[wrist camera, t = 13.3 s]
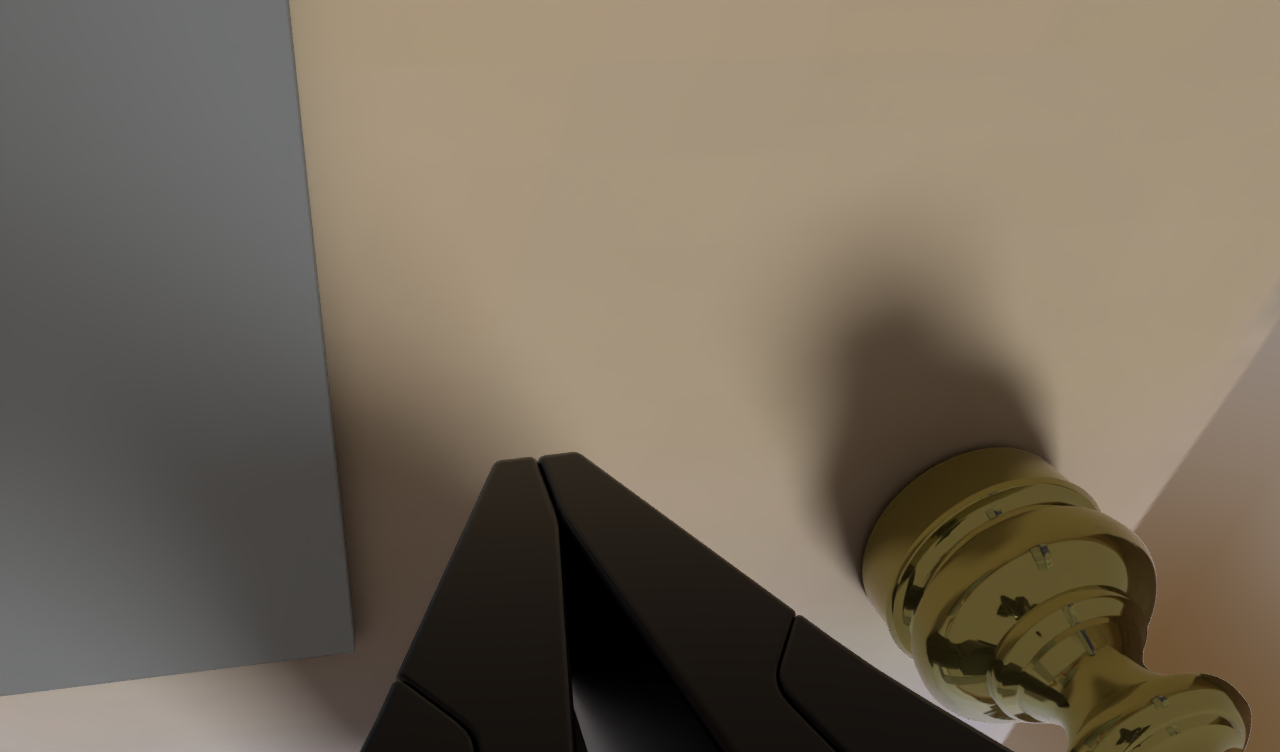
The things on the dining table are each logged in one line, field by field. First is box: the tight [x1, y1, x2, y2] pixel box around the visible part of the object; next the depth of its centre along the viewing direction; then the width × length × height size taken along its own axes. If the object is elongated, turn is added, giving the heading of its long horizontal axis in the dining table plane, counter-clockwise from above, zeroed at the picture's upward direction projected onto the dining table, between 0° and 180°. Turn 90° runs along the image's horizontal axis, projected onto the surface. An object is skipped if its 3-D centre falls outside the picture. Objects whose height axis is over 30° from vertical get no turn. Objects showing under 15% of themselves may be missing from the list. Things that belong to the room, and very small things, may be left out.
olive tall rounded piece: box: [862, 447, 1252, 752], centre depth 25 cm, size 7×7×10 cm
